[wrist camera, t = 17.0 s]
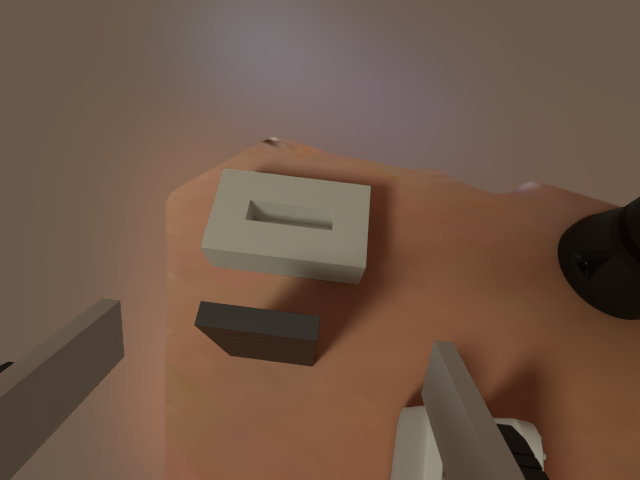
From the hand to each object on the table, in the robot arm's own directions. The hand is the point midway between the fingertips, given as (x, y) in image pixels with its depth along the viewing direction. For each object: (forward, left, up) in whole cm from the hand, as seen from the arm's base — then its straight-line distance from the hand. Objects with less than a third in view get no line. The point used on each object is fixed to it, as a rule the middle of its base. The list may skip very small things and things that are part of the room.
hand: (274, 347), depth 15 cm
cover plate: (+5, -2, -30) cm, 30 cm away
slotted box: (+13, -16, -30) cm, 36 cm away
